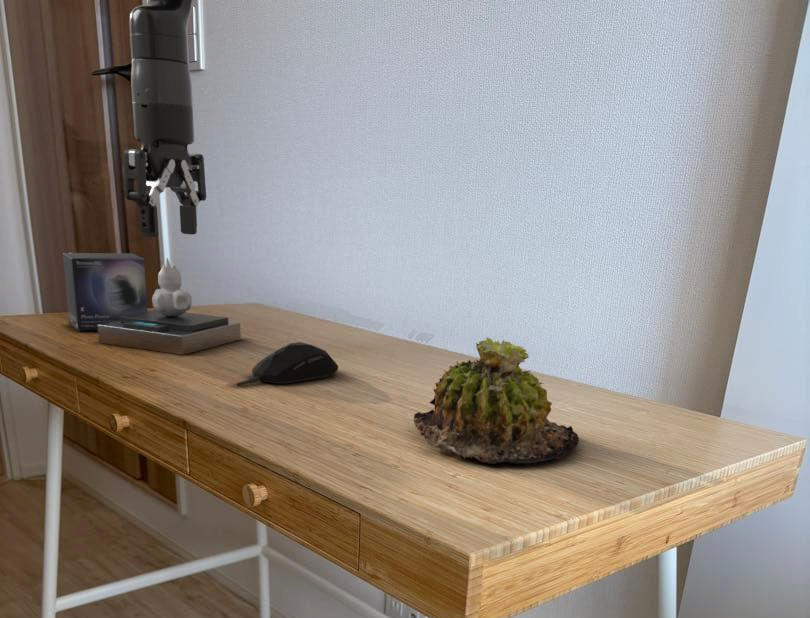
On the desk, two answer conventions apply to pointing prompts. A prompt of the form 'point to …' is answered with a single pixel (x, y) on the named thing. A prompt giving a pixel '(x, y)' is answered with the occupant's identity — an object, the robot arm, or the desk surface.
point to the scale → (166, 336)
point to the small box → (103, 287)
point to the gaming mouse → (293, 365)
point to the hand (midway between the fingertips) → (170, 235)
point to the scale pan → (177, 320)
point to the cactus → (494, 411)
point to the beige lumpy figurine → (170, 293)
